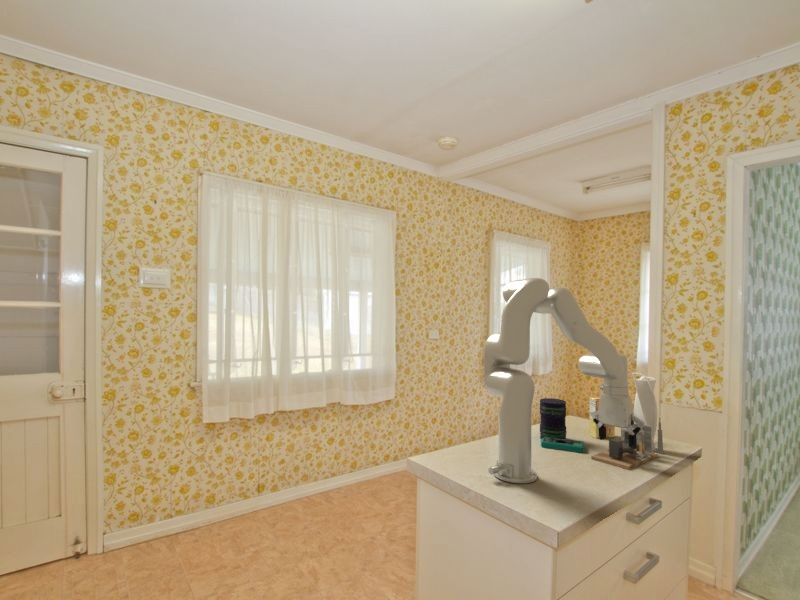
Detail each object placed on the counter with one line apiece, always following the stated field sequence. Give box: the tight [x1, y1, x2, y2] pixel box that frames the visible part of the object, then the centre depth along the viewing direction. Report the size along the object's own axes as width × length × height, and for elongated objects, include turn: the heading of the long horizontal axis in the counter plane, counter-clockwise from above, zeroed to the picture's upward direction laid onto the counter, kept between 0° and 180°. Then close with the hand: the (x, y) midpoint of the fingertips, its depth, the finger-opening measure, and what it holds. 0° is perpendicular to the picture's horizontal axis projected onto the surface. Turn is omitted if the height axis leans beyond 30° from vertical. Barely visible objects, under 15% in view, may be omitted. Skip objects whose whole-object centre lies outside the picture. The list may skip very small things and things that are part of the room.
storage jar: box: [539, 397, 567, 440], centre depth 163 cm, size 10×10×15 cm
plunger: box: [608, 437, 637, 459], centre depth 139 cm, size 13×6×6 cm, turn 126°
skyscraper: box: [631, 372, 665, 455], centre depth 151 cm, size 8×8×28 cm
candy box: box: [589, 396, 616, 439], centre depth 167 cm, size 9×4×15 cm, turn 103°
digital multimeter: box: [540, 437, 585, 454], centre depth 152 cm, size 7×15×3 cm, turn 63°
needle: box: [637, 443, 643, 456], centre depth 137 cm, size 1×2×4 cm
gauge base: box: [590, 423, 659, 471], centre depth 141 cm, size 21×12×10 cm, turn 126°
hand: (617, 442), depth 138 cm, fingers open, 9 cm apart
